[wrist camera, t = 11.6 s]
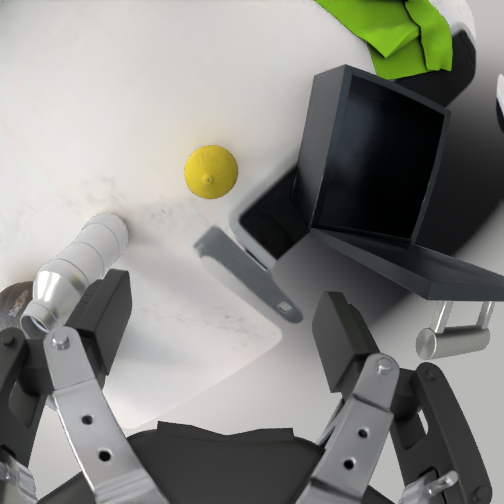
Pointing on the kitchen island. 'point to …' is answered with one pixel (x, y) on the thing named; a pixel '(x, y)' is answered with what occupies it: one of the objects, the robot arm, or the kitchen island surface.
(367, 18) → the cloth
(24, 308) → the gourd
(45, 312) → the silver bottle
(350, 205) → the box
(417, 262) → the caddy lid
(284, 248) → the kitchen island surface
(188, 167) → the lemon
